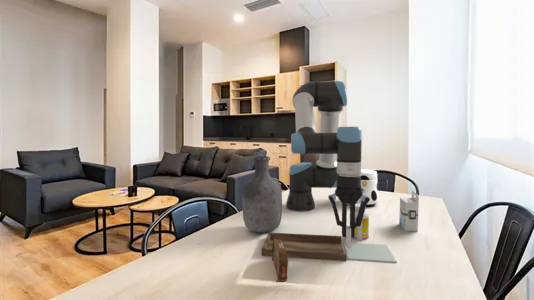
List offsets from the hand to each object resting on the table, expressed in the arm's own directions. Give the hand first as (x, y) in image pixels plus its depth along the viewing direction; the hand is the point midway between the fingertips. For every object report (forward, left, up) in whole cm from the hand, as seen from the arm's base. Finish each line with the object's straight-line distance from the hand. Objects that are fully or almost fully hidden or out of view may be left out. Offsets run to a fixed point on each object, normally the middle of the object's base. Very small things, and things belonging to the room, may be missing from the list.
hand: (347, 246), depth 89 cm
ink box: (-28, +28, -3) cm, 39 cm away
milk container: (-64, +16, -3) cm, 66 cm away
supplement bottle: (-13, +6, -3) cm, 15 cm away
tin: (+15, -21, -3) cm, 26 cm away
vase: (-17, -31, -3) cm, 36 cm away
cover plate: (0, +6, -3) cm, 7 cm away
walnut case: (0, -14, -3) cm, 15 cm away
